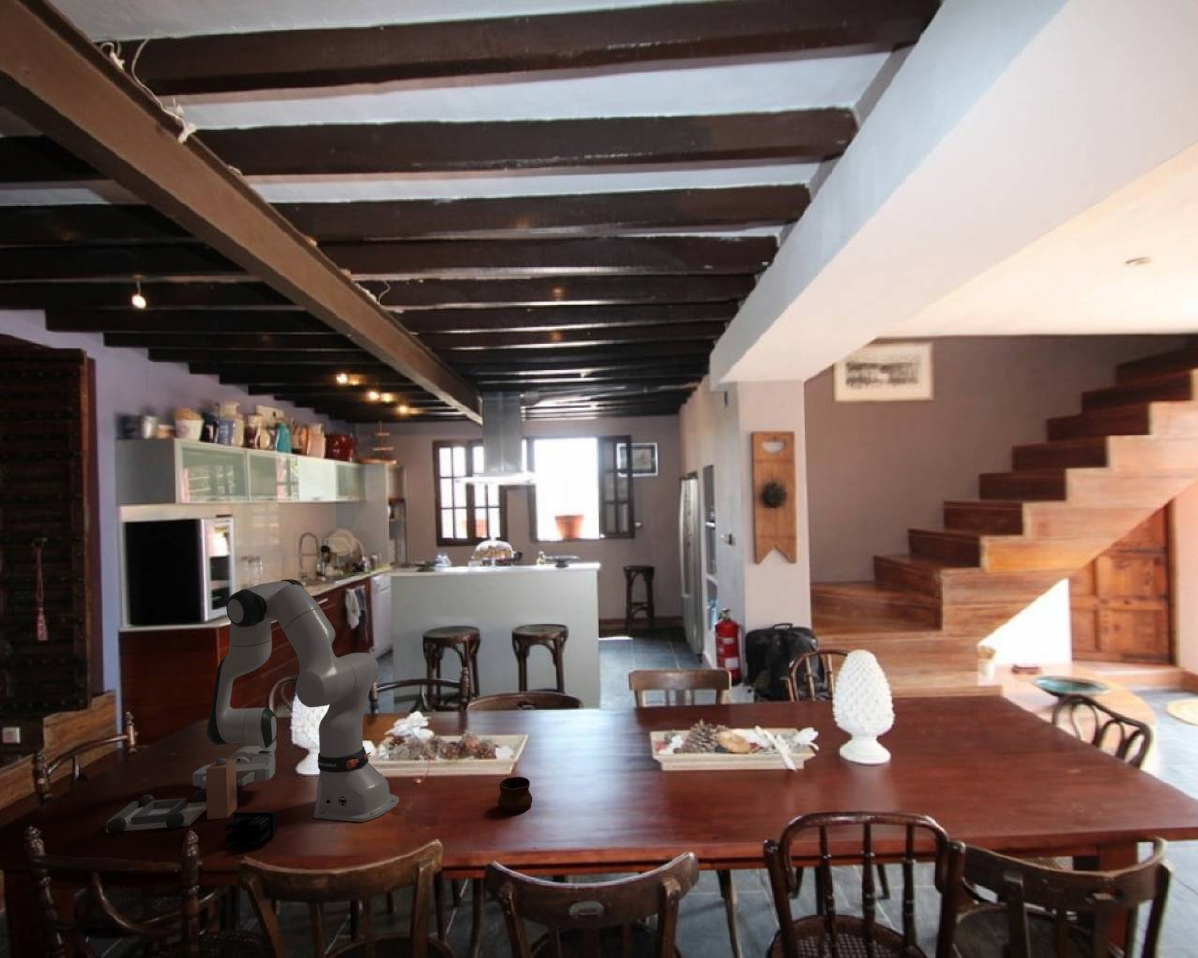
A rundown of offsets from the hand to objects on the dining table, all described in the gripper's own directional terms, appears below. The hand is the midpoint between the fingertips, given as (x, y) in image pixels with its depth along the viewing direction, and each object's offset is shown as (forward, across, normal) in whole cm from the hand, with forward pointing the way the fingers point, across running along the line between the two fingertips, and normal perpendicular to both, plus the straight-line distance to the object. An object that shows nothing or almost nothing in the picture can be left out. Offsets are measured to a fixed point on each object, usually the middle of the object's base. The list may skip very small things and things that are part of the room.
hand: (222, 784), depth 185 cm
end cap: (+18, +14, +8) cm, 24 cm away
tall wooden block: (0, 0, +8) cm, 8 cm away
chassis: (0, -16, +7) cm, 17 cm away
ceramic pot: (+12, +78, +8) cm, 79 cm away
